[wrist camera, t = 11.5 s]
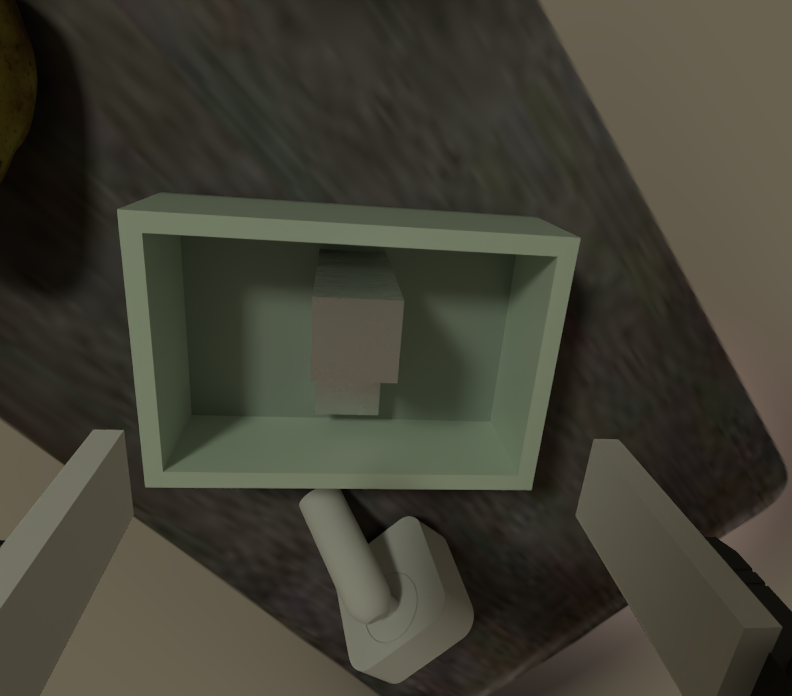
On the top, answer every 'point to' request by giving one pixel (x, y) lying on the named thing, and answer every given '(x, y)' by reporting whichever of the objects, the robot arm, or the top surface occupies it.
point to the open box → (291, 344)
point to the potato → (15, 82)
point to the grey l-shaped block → (354, 331)
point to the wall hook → (389, 588)
